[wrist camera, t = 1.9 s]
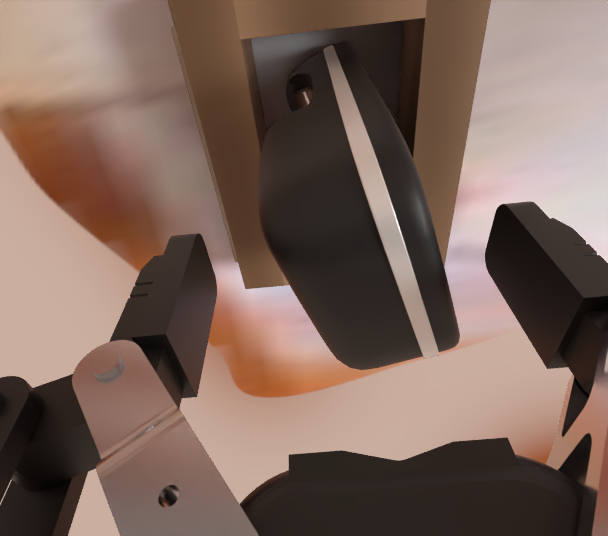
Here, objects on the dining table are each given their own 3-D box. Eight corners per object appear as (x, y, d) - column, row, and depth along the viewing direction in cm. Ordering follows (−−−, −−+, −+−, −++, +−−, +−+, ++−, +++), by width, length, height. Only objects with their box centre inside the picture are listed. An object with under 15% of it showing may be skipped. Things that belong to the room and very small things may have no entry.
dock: (467, -71, 13) (503, -74, 11) (427, 236, 22) (443, 271, 19) (174, -34, 14) (151, -29, 12) (245, 253, 22) (240, 289, 20)
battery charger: (259, 72, 16) (221, 228, 7) (346, 30, 15) (419, 152, 7) (320, 206, 20) (341, 406, 12) (391, 179, 19) (473, 375, 11)
